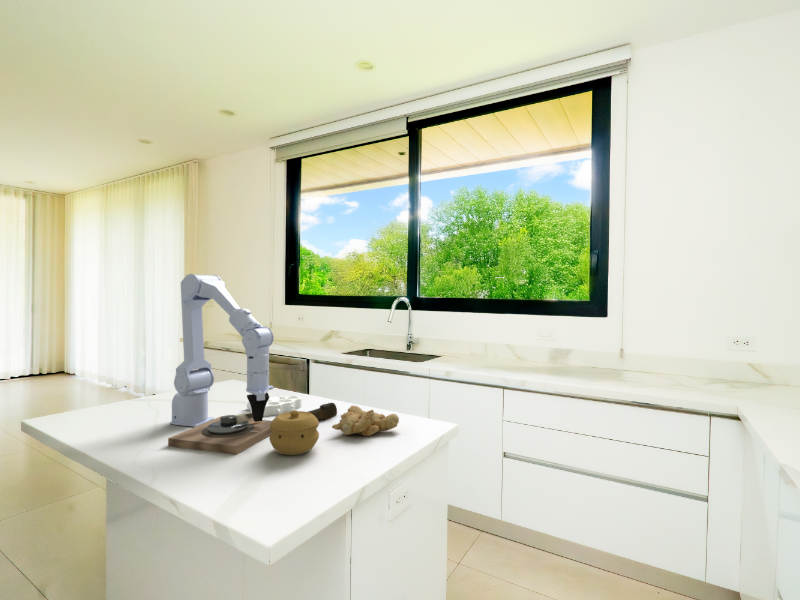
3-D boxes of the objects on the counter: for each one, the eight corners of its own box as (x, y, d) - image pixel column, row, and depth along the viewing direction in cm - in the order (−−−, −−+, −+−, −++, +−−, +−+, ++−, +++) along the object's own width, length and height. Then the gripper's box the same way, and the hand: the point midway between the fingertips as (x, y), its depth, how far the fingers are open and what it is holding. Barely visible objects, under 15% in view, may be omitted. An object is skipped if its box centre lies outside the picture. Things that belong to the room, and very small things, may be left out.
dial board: (168, 446, 105) (168, 437, 105) (221, 422, 124) (222, 415, 124) (236, 454, 100) (236, 445, 100) (281, 428, 119) (281, 421, 119)
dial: (217, 437, 105) (217, 425, 105) (201, 428, 112) (201, 417, 112) (268, 424, 115) (268, 414, 115) (251, 417, 122) (251, 407, 122)
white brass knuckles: (284, 401, 150) (310, 409, 141) (237, 412, 137) (262, 421, 127) (284, 392, 150) (310, 399, 141) (237, 402, 137) (262, 410, 127)
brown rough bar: (289, 432, 117) (289, 415, 117) (281, 429, 120) (281, 412, 120) (342, 418, 131) (342, 403, 131) (334, 415, 134) (334, 400, 134)
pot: (275, 443, 108) (275, 404, 108) (321, 442, 109) (321, 403, 108) (264, 461, 96) (264, 417, 96) (315, 460, 97) (315, 417, 97)
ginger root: (320, 427, 116) (326, 398, 117) (361, 428, 127) (367, 402, 128) (357, 444, 105) (364, 412, 106) (399, 443, 117) (404, 414, 118)
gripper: (276, 375, 110) (276, 426, 110) (269, 366, 123) (269, 412, 123) (248, 377, 107) (248, 430, 107) (244, 368, 120) (244, 415, 120)
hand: (257, 420), depth 115 cm, fingers closed
